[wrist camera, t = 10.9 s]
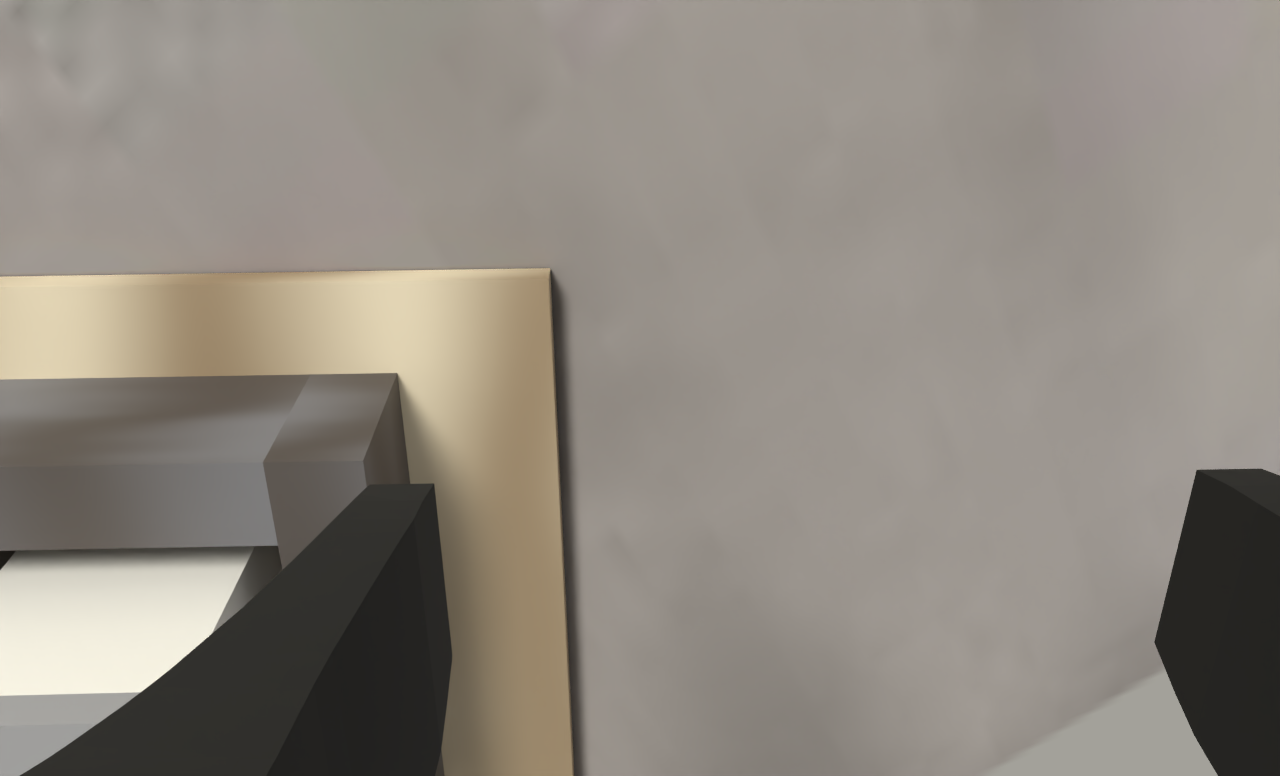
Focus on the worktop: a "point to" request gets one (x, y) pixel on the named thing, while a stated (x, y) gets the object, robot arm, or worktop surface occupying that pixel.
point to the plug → (105, 631)
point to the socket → (311, 447)
